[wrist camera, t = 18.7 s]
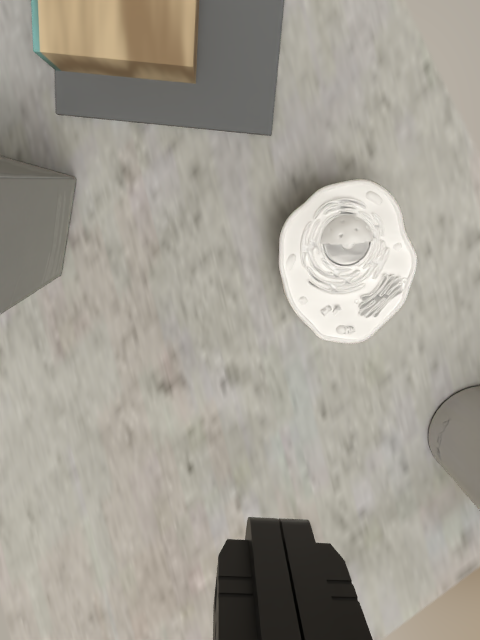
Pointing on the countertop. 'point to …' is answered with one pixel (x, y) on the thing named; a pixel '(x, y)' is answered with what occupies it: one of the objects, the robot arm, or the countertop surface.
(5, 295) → the skincare box
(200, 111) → the mat
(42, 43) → the block
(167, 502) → the countertop surface
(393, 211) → the cell model
